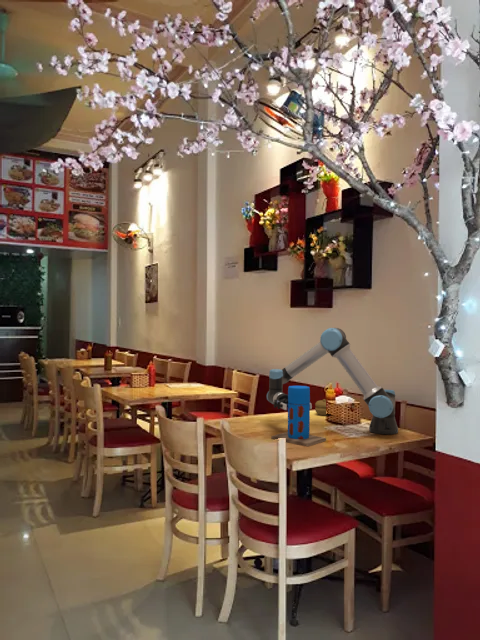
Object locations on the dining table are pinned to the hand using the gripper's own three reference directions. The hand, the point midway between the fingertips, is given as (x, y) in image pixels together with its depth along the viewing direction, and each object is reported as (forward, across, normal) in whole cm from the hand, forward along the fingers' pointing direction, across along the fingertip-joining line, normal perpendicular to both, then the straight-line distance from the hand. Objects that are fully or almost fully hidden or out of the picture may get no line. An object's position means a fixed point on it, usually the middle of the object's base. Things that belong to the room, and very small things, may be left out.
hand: (298, 406), depth 261 cm
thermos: (0, 0, -15) cm, 15 cm away
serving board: (0, 0, -17) cm, 17 cm away
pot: (-58, -44, -17) cm, 75 cm away
